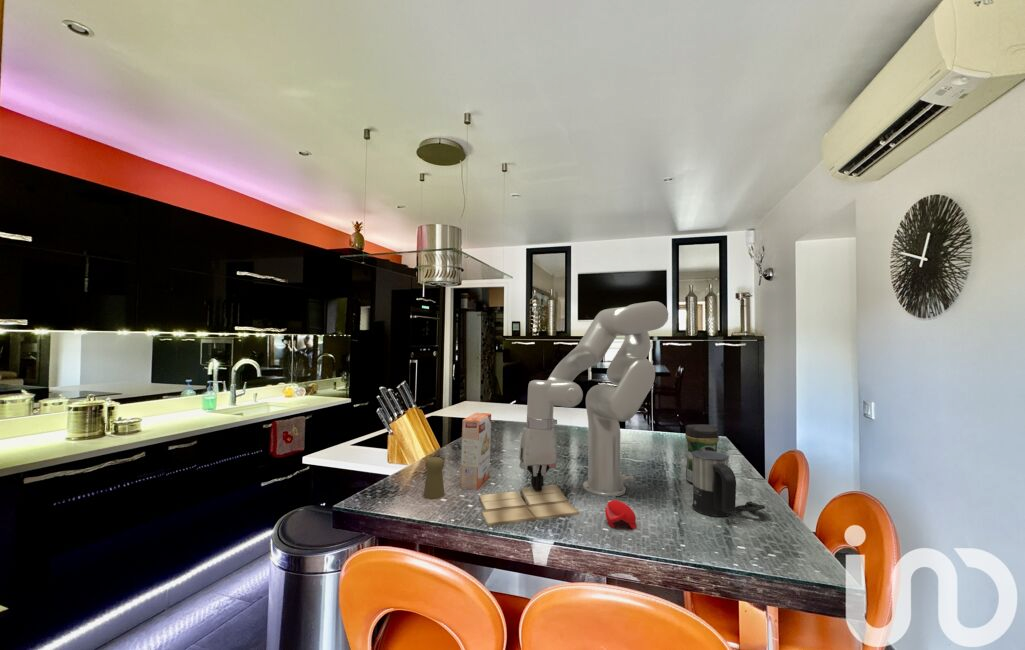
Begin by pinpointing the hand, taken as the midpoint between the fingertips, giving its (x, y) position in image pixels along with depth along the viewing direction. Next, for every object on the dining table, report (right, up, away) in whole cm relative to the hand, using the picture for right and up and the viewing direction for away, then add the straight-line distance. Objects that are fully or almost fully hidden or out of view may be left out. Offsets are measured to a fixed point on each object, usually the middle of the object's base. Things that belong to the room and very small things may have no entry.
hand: (536, 488), depth 114 cm
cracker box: (-18, -3, +12) cm, 22 cm away
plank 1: (-10, -2, -5) cm, 11 cm away
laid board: (-2, -2, -12) cm, 12 cm away
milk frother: (+50, -3, -7) cm, 51 cm away
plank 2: (+2, -2, -2) cm, 3 cm away
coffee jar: (+54, -4, +15) cm, 56 cm away
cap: (+19, -2, -17) cm, 26 cm away
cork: (-29, -3, 0) cm, 29 cm away
